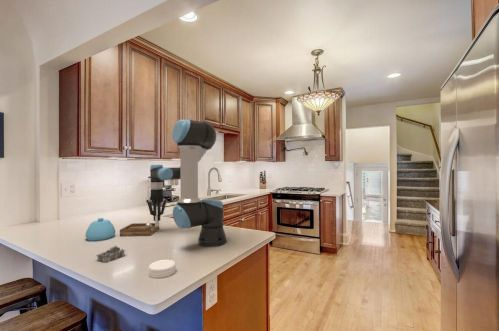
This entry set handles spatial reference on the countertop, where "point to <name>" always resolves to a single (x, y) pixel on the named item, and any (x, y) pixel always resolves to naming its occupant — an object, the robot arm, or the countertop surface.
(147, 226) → the ball
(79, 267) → the countertop surface
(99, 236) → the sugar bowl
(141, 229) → the tray
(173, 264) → the coaster
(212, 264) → the countertop surface
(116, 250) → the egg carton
